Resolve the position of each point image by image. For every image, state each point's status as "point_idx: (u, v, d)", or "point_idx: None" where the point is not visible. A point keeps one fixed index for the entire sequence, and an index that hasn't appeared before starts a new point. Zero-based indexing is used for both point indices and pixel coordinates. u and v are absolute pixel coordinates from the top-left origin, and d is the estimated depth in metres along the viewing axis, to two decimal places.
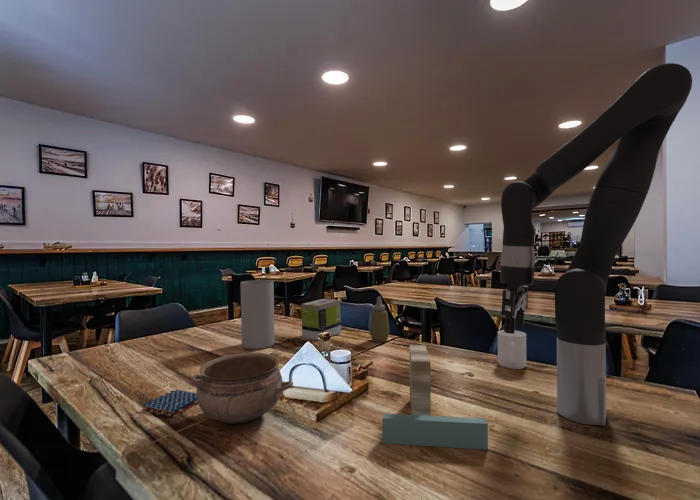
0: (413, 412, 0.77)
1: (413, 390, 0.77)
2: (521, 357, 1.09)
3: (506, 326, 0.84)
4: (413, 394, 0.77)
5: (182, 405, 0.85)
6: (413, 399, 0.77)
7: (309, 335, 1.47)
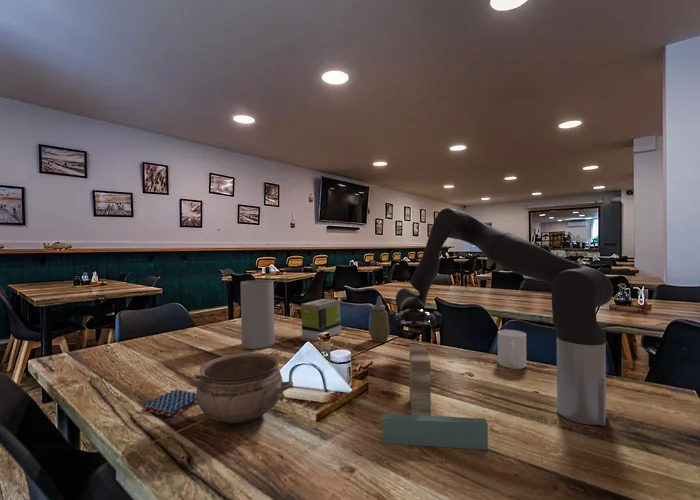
0: (413, 412, 0.77)
1: (413, 390, 0.77)
2: (521, 357, 1.09)
3: None
4: (413, 394, 0.77)
5: (182, 405, 0.85)
6: (413, 399, 0.77)
7: (309, 335, 1.47)
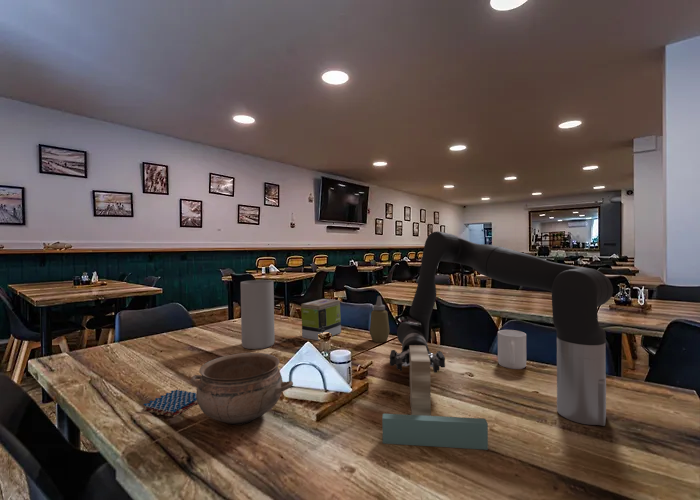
0: (413, 412, 0.77)
1: (413, 390, 0.77)
2: (521, 357, 1.09)
3: None
4: (413, 394, 0.77)
5: (182, 405, 0.85)
6: (413, 399, 0.77)
7: (309, 335, 1.47)
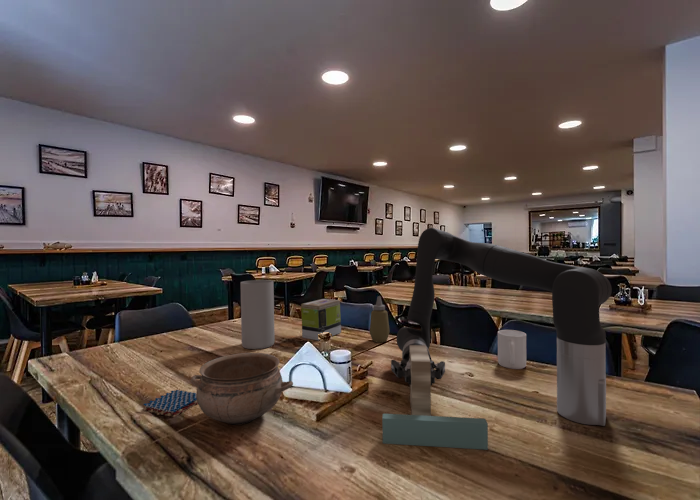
0: (413, 412, 0.77)
1: (413, 390, 0.77)
2: (521, 357, 1.09)
3: (405, 379, 0.82)
4: (413, 394, 0.77)
5: (182, 405, 0.85)
6: (413, 399, 0.77)
7: (309, 335, 1.47)
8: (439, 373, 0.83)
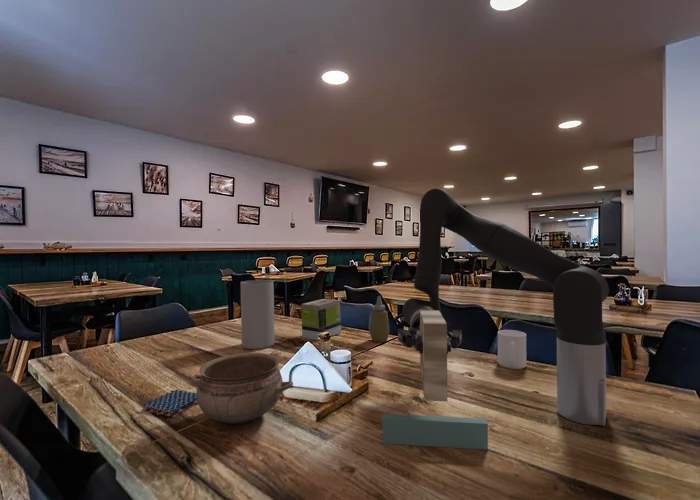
0: (426, 385, 0.64)
1: (426, 358, 0.64)
2: (521, 357, 1.09)
3: (415, 347, 0.69)
4: (426, 363, 0.64)
5: (182, 405, 0.85)
6: (426, 369, 0.64)
7: (309, 335, 1.47)
8: (456, 341, 0.70)
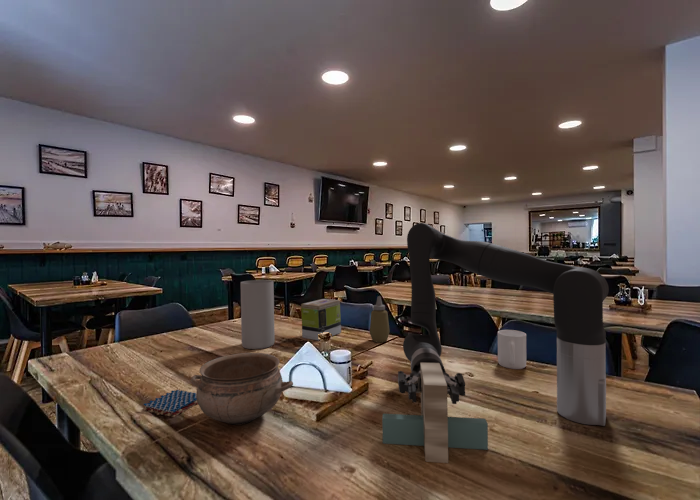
0: (427, 446, 0.64)
1: (427, 420, 0.64)
2: (521, 357, 1.09)
3: None
4: (427, 424, 0.64)
5: (182, 405, 0.85)
6: (427, 430, 0.64)
7: (309, 335, 1.47)
8: (464, 388, 0.71)
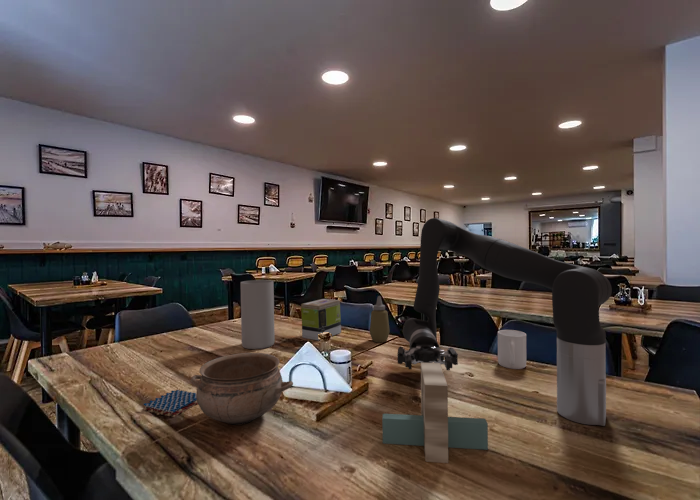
0: (427, 446, 0.64)
1: (427, 420, 0.64)
2: (521, 357, 1.09)
3: (405, 364, 0.83)
4: (427, 424, 0.64)
5: (182, 405, 0.85)
6: (427, 430, 0.64)
7: (309, 335, 1.47)
8: (457, 358, 0.84)
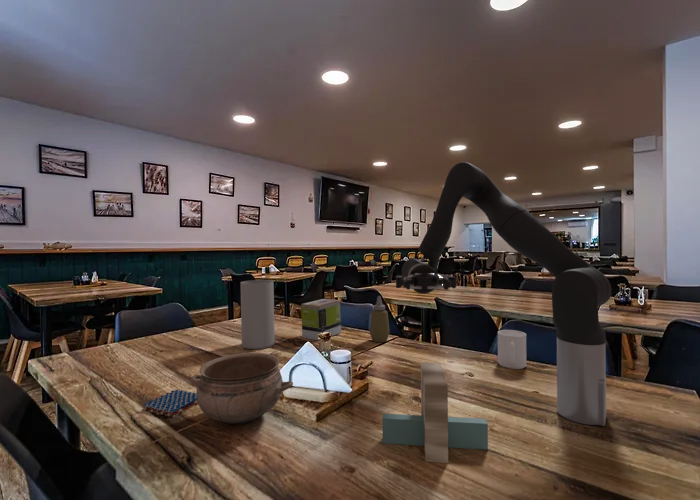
0: (427, 446, 0.64)
1: (427, 420, 0.64)
2: (521, 357, 1.09)
3: None
4: (427, 424, 0.64)
5: (182, 405, 0.85)
6: (427, 430, 0.64)
7: (309, 335, 1.47)
8: (455, 281, 0.84)
